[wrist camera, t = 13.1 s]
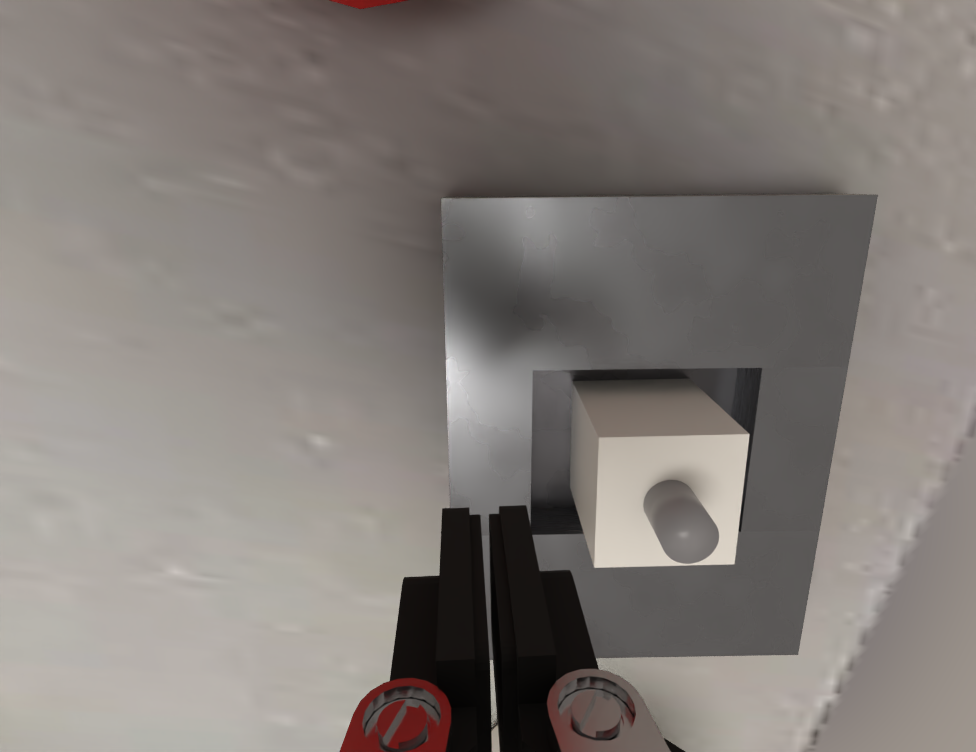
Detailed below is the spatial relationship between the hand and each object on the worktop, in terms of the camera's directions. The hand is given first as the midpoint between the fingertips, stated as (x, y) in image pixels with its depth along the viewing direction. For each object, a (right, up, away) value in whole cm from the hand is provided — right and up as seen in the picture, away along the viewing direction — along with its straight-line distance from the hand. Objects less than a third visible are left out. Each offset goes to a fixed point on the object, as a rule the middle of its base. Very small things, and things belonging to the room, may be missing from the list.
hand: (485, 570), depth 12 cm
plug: (+6, +2, +12) cm, 13 cm away
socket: (+6, +2, +12) cm, 14 cm away
